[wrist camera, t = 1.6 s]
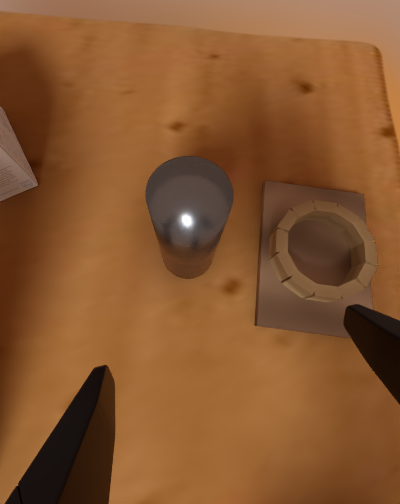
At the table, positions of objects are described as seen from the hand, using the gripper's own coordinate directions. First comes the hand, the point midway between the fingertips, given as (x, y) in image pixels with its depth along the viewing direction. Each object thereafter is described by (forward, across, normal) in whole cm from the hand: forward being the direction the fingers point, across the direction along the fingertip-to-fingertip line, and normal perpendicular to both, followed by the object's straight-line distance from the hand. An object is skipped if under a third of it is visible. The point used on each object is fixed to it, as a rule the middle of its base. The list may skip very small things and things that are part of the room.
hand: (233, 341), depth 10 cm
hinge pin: (+15, 0, +4) cm, 15 cm away
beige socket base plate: (+13, -11, +6) cm, 18 cm away
